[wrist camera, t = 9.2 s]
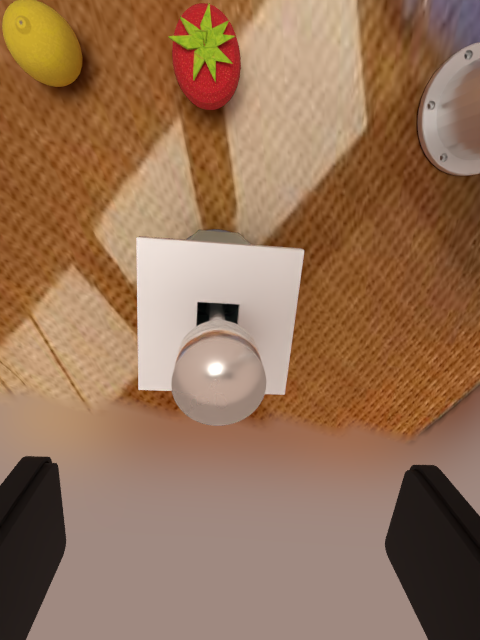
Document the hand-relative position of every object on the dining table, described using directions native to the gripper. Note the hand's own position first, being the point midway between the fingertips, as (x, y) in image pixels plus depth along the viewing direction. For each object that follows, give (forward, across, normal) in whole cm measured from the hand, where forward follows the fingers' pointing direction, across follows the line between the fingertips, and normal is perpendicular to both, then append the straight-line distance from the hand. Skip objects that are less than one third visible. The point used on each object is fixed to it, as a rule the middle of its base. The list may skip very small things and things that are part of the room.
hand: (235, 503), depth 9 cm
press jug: (+33, +1, +2) cm, 33 cm away
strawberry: (+34, +3, -20) cm, 39 cm away
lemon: (+33, +17, -20) cm, 42 cm away
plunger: (+31, +1, 0) cm, 31 cm away
